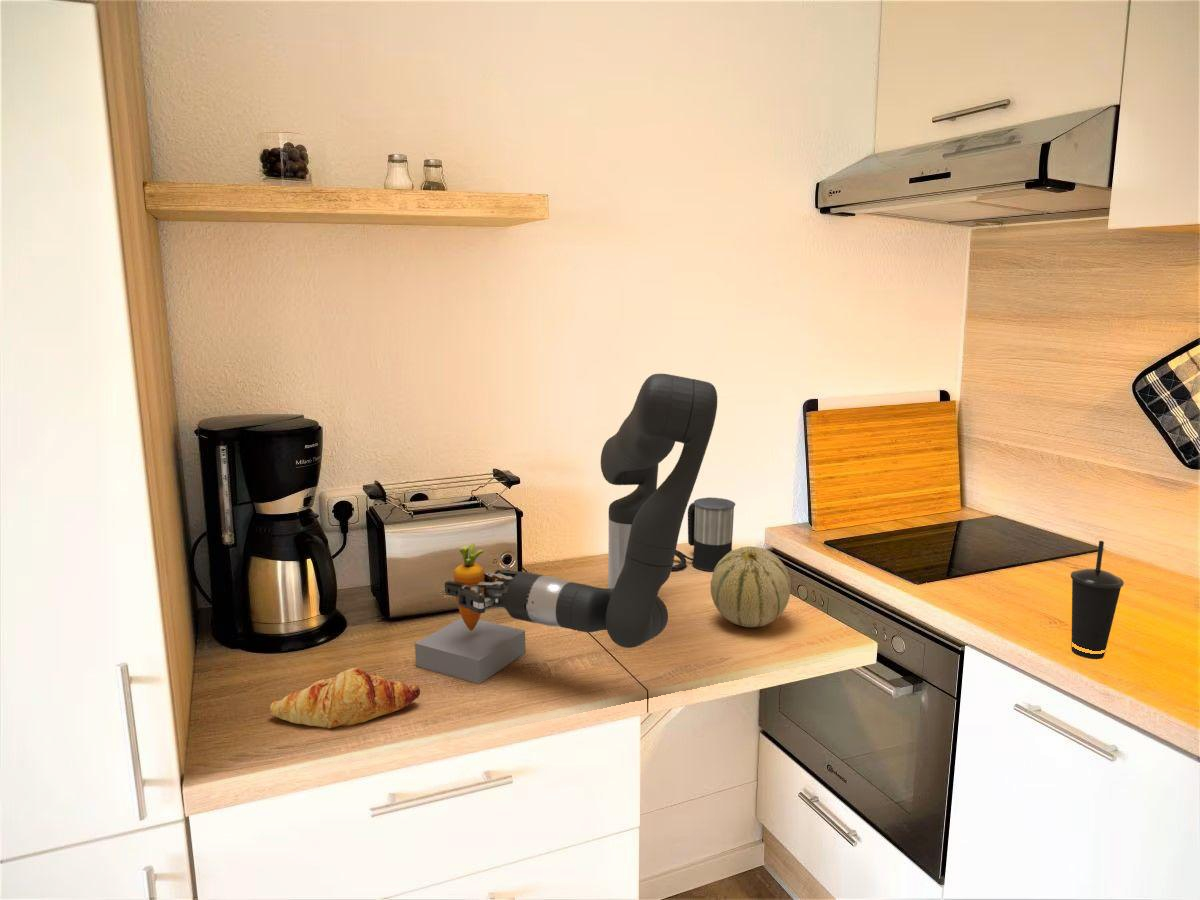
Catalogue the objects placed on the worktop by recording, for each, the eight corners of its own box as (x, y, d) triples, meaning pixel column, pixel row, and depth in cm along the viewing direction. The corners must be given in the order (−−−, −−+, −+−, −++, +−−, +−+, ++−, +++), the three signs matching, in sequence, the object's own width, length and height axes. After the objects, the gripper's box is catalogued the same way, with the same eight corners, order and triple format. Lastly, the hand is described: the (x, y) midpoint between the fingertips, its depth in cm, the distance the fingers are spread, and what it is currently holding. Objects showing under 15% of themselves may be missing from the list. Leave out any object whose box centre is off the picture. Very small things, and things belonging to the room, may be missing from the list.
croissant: (269, 753, 115) (259, 721, 110) (276, 692, 122) (267, 660, 117) (422, 732, 119) (419, 701, 114) (420, 675, 127) (417, 643, 122)
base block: (465, 637, 145) (464, 615, 144) (525, 652, 139) (525, 630, 138) (415, 665, 134) (414, 643, 133) (479, 684, 127) (478, 660, 127)
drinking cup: (1054, 651, 139) (1067, 540, 135) (1072, 639, 144) (1085, 532, 140) (1103, 667, 133) (1119, 551, 130) (1120, 654, 138) (1135, 542, 134)
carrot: (472, 622, 138) (469, 537, 136) (492, 629, 135) (489, 543, 133) (450, 631, 135) (446, 544, 132) (470, 639, 132) (466, 550, 129)
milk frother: (741, 566, 183) (744, 502, 180) (696, 583, 172) (697, 515, 169) (693, 551, 193) (695, 491, 190) (647, 566, 182) (648, 502, 179)
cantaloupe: (769, 605, 159) (772, 532, 157) (803, 636, 145) (807, 556, 143) (698, 611, 156) (700, 537, 154) (725, 643, 142) (728, 562, 139)
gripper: (565, 563, 132) (481, 548, 140) (516, 591, 120) (426, 573, 128) (566, 606, 134) (483, 589, 142) (517, 639, 121) (429, 618, 129)
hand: (456, 582), depth 135 cm, fingers closed on carrot, 4 cm apart
